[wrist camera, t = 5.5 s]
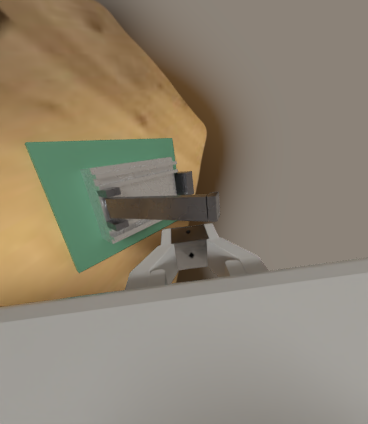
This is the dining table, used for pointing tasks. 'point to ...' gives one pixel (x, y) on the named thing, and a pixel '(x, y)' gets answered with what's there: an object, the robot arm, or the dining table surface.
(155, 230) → the circuit board
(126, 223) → the heat sink
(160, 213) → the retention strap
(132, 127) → the dining table surface
